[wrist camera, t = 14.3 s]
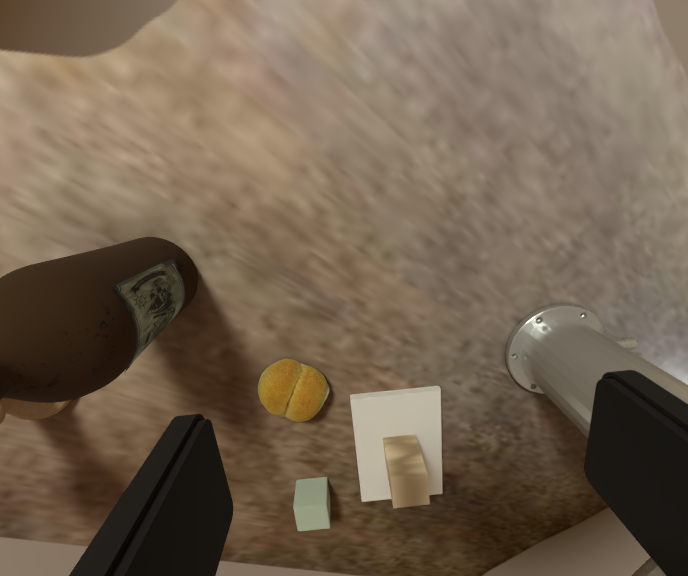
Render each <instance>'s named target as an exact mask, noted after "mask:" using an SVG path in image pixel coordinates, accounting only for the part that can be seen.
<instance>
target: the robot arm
mask: <svg viewBox="0 0 688 576" xmlns="http://www.w3.org/2000/svg"><path fill="white" fill-rule="evenodd" d="M637 347H638V343H637V341H636V339H634V338H623V339H619V340H618V339H616V338H614V337H612V336H611V335H609V334H607V333H606V332H605V328H604V326H603V324H602V322H601V321H600V320H599V319H598V318H597V317H596V316H595V315H594V314H593V313H591V312H590V311H588V310H586V309H584V308H582V307H580V306H576V305H573V304H555V305H550V306H547V307H543V308H541V309H539V310H537V311H535V312H533V313H532V314H530V315H529V316H527V317H526V318H525V319H524V320H522V321H521V322H520V323H519V324H518V326H517V327H516V328H515V329H514V331H513V332H512V334H511V336H510V338H509V340H508V343H507V347H506V354H505V358H506V365H507V367H508V370H509V372H510V374H511V375H512V377H513V378H514V379H515V380H516V381H517V382H518V383H519V384H520V385H521V386H522V387H524V388H525V389H527V390H529V391H532V392H536V393H540V394H546V395H547V396H548V397H549V399H550V400H551V401H552V402H553V403H554V404H555V405H556V406H557V407H558V408H559V409H560V410H561V411H562V412H563V413H564V414H565V415H566V416H567V417H568V418H569V419H570V420H571V421H572V422H573V424H574V425H575V426H576V427H577V428H578V429H579V430H580V431H581V432H582V433H583V434H584V435H585V436H586V437H587V438H588V444H587V450H586V457H585V464H584V470H585V474H586V477H587V479H588V481H589V483H590V484H591V485H592V487H593V488H594V489H595V490H596V491H597V493H598V494H599V495H600V496H601V497H602V499H603V500H604V501H605V502H606V503H607V505H608V506H609V507H610V508H611V510H612V511H613V512H614V513H615V514H616V516H617V517H618V518H619V519H620V520H621V522H622V523H623V524H624V525H625V526H626V528H627V529H628V530H629V531H630V532H631V534H632V535H633V536H634V537H635V539H636V540H637V541H638V542H639V543H640V545H641V546H642V547H643V548H644V549H645V551H646V552H647V553H648V554H649V556H650V557H651V558H650V559H649V560H647V561H646V563H645V564H643V565H642V566H641V567H640V568H639V569H638V570H637V571H636V572H635V573H634V574H633V575H632V576H688V385H687V384H685V383H683V382H682V381H680V380H678V379H677V378H675V377H673V376H672V375H670V374H668V373H667V372H665V371H663V370H662V369H660V368H658V367H657V366H655V365H653V364H652V363H650V362H648V361H647V360H646V359H645V357H644V356H643V355H642V354H641V353H633V352H631V351H630V350H629V349H636V348H637ZM232 516H233V502H232V498H231V494H230V490H229V486H228V483H227V479H226V475H225V471H224V468H223V464H222V460H221V456H220V453H219V449H218V445H217V441H216V438H215V434H214V430H213V426H212V423H211V421H210V420H208V419H206V420H205V419H204V417H203V416H202V415H201V414H194V415H184V416H177V417H175V418H174V419H173V420H172V421H171V423H170V424H169V426H168V427H167V429H166V430H165V432H164V433H163V435H162V436H161V438H160V439H159V441H158V442H157V444H156V445H155V447H154V448H153V450H152V451H151V453H150V455H149V456H148V458H147V459H146V461H145V462H144V464H143V465H142V467H141V468H140V470H139V471H138V473H137V474H136V476H135V477H134V479H133V480H132V482H131V483H130V485H129V486H128V488H127V489H126V490H125V492H124V493H123V495H122V496H121V498H120V499H119V501H118V502H117V504H116V505H115V507H114V508H113V510H112V512H111V513H110V515H109V516H108V518H107V519H106V521H105V522H104V524H103V525H102V527H101V528H100V530H99V531H98V533H97V534H96V536H95V537H94V539H93V540H92V542H91V543H90V545H89V546H88V548H87V549H86V551H85V553H84V554H83V555H82V557H81V558H80V560H79V562H78V563H77V564H76V566H75V568H74V569H73V571H72V572H71V574H70V575H69V576H215V575H216V571H217V568H218V565H219V561H220V558H221V554H222V551H223V548H224V544H225V541H226V538H227V534H228V531H229V527H230V524H231V521H232Z"/></svg>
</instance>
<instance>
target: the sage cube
mask: <svg viewBox="0 0 688 576" xmlns="http://www.w3.org/2000/svg"><path fill="white" fill-rule="evenodd" d="M293 508H294V513H295V518H296V523H297V529H298V531H306V530H316V529H326V528H330V494H329V487H328V481H327V477H321V478H311V479H301V480H297V481H296V489H295V498H294V506H293Z"/></svg>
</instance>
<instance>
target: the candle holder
mask: <svg viewBox="0 0 688 576" xmlns="http://www.w3.org/2000/svg"><path fill="white" fill-rule="evenodd" d="M69 402H70V400H69V401H64V402H56V403H38V402H29V401H22V400H15V399H8V398H2V399H1V400H0V424H1V423H2V421H3V420H4V418H5V415H7V416H11V417H14V418H19V419H26V420H37V419H43V418H47V417H49V416H52V415H54V414H56V413H58V412H59V411H61V410H62V409H63V408H64V407H66V406H67V404H68V403H69Z"/></svg>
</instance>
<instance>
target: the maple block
mask: <svg viewBox="0 0 688 576" xmlns="http://www.w3.org/2000/svg"><path fill="white" fill-rule="evenodd" d="M383 444H384V454H385V463H386V469H387V475H388V480H389V486H390V492H391V497H392V503H393V508H400V507H409V506H418V505H427V504H430V499H429V482H428V474H427V471H426V467H425V464H424V461H423V458H422V454H421V451H420V448H419V445H418V442H417V438H416V435H415V434H412V435H403V436H395V437H386V438H383Z"/></svg>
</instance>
